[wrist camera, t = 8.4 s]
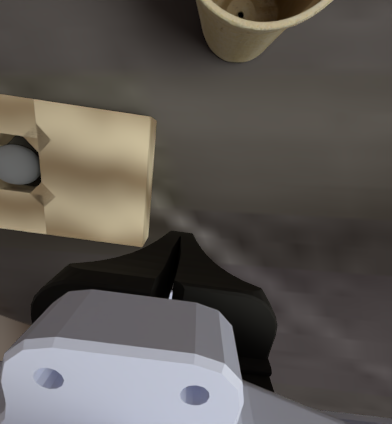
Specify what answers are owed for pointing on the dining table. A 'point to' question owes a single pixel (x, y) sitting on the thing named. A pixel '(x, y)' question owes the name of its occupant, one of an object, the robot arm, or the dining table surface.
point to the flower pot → (250, 24)
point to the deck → (80, 171)
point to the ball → (18, 164)
